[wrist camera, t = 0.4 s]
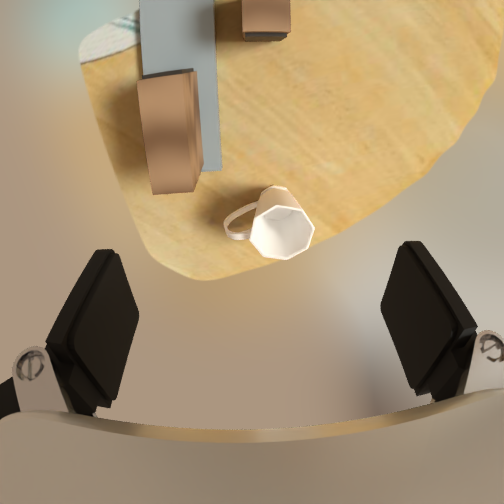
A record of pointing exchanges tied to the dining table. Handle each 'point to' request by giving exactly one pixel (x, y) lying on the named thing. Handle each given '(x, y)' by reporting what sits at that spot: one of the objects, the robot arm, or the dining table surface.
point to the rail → (186, 58)
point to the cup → (275, 224)
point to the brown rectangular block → (266, 20)
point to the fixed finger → (171, 129)
